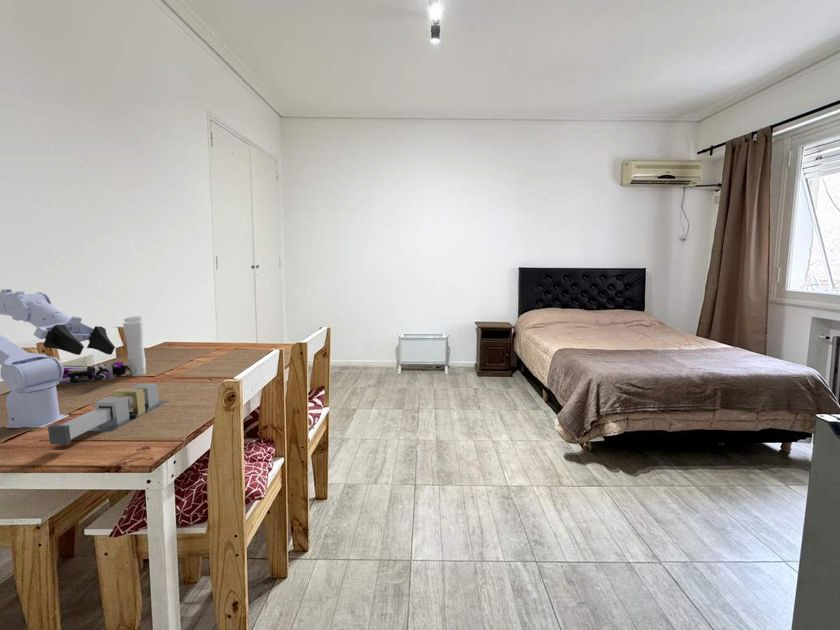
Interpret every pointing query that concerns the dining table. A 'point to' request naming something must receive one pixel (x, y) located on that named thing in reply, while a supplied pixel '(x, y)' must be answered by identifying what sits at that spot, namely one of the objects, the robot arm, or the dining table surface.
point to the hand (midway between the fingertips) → (96, 350)
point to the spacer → (136, 398)
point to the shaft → (80, 425)
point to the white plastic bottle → (135, 345)
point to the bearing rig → (122, 409)
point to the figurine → (93, 373)
